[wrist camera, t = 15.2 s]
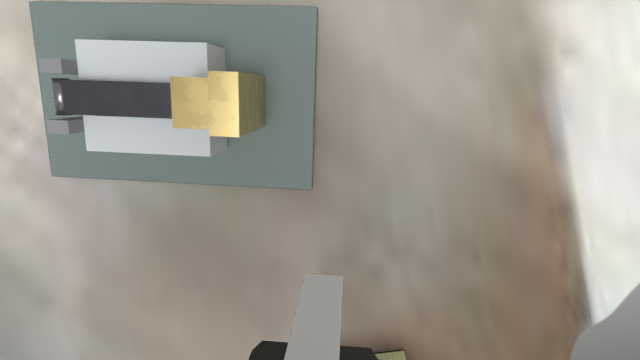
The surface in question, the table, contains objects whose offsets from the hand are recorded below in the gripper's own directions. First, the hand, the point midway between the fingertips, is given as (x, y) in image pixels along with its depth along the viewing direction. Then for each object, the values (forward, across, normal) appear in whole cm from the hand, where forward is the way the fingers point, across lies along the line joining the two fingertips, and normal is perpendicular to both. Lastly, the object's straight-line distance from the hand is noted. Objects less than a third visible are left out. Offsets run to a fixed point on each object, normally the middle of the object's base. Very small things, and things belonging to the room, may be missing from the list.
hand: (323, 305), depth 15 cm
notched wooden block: (+25, -11, +7) cm, 28 cm away
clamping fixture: (+26, -18, +7) cm, 32 cm away
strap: (+20, -18, +7) cm, 28 cm away
